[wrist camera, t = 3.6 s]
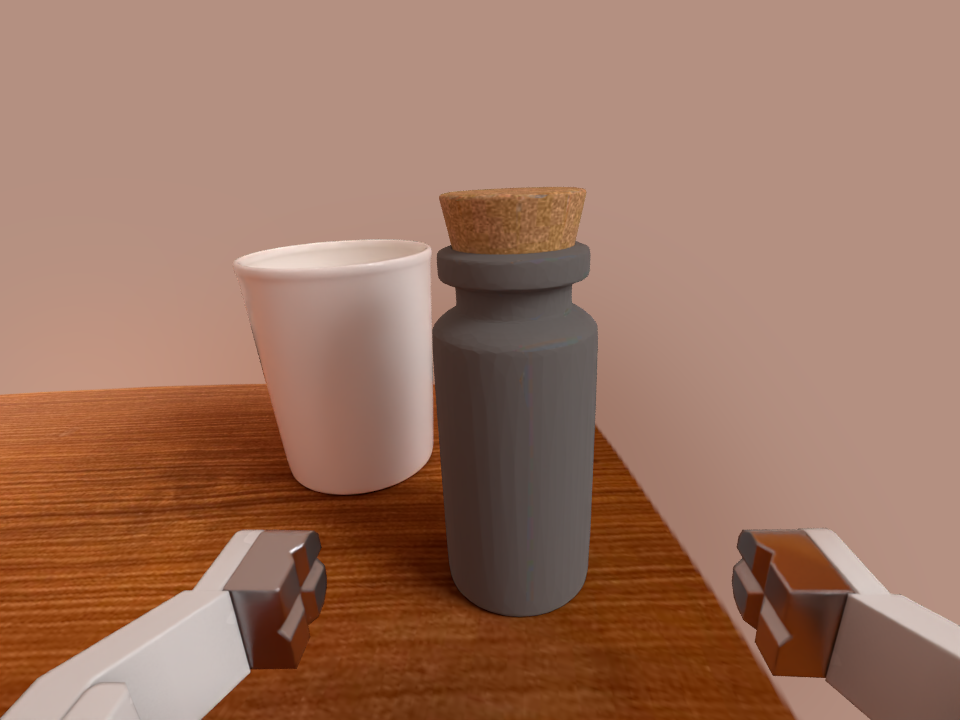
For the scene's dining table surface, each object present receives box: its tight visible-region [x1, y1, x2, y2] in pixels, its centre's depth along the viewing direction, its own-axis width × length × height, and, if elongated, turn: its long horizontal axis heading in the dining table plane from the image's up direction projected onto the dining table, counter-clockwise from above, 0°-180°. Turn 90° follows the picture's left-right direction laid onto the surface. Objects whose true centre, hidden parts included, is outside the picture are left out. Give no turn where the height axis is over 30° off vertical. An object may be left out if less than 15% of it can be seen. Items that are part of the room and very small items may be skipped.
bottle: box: [432, 187, 598, 617], centre depth 19 cm, size 6×6×15 cm
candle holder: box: [233, 240, 433, 495], centre depth 28 cm, size 10×10×12 cm
